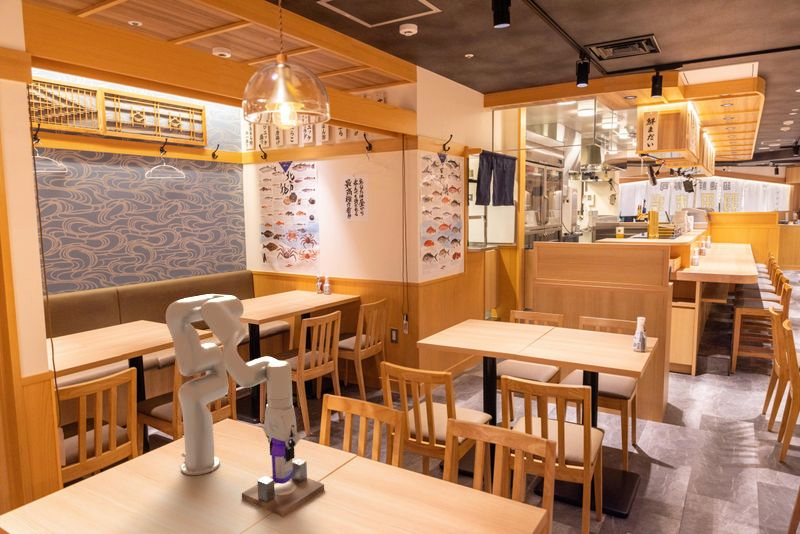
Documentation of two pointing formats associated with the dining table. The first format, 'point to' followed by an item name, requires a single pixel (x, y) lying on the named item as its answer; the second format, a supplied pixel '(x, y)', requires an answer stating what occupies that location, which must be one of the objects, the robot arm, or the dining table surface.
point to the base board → (285, 496)
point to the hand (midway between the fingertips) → (282, 456)
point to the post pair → (267, 484)
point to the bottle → (280, 462)
